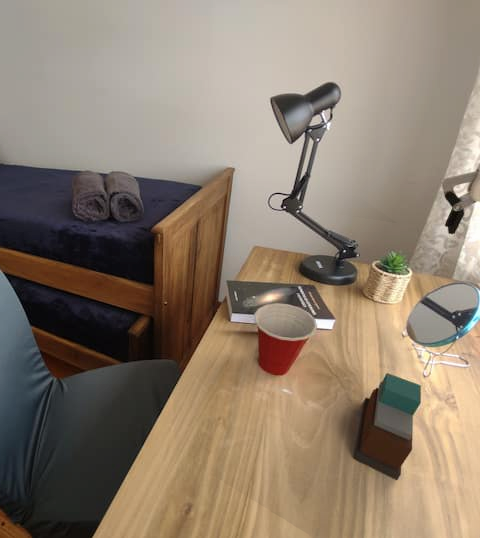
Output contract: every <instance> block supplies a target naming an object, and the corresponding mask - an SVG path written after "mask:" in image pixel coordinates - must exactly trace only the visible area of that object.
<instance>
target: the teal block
mask: <svg viewBox="0 0 480 538" xmlns="http://www.w3.org/2000/svg"><path fill="white" fill-rule="evenodd" d="M377 388H378V395H377V402H376V410H375V417H374V425H375V426H378V427H380V428H382V429H384V430H387V431H389V432H391V433H394V434H396V435H398V436H401V437H403V438H405V439H407V440H410V439H411V437H412V438H413V435H414V434H413V431H414V415H415V413H416V412H417V410H418V409H419V407H420V406H421V404H422V385H421V384H418V383H417V382H413V381H410V380H409V379H405V378H403V377H399V376H396V375H394V374H391V373H389V372H386V374H385V376H384V378H383V379H382V381H380V382H379V385H378V387H377Z"/></svg>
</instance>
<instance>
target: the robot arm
mask: <svg viewBox="0 0 480 538" xmlns="http://www.w3.org/2000/svg"><path fill="white" fill-rule="evenodd" d="M464 184H467V187H466V192H467V193H465V194H463V195H460V196H458V195H457V194H456V193H455V190H454V188H455V187H456V186H460V185H464ZM441 186H442V191H443V195H444V198H445V200H446V201H447V203H448V204H449V205H450V206H451V210H450V212H449V214H448V216H447V218H446V220H445V223H444V227H447V233H448V234H449V235H454V234H456V232H457V230H458V228H459V226H460V224H461V221H462V220H463V218H464V215H465V209H466V208H467V207H470V206H472V205H473V204H476V203H480V163H479V164H478V166H477V167H476V169H475V171H470V172H467V173H463V174H459V175H454V176H450V177H446V178H443V179H442V180H441Z"/></svg>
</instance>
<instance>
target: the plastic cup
mask: <svg viewBox="0 0 480 538" xmlns="http://www.w3.org/2000/svg"><path fill="white" fill-rule="evenodd" d="M253 318H254V323H255V325H256V328H257V347H258V348H257V349H258V365H259V367H260V368H261V369H262V370H263V371H264V372H265V373H267V374H270V375H271V376H272V375H273V376H284V375H286V374H288V372H289V371H290V370H291V368H292V366H293V364H295V363H296V360H297V359H298V357H299V355H300V353H301V352H302V350H303V348H304V346H305V345H306V344H307V342H308V340H309V339H310V338H311V337H312V336H314V334H315V332H316V330H317V329H318V324H317V321H316V319H315V317H314V316H313V315H312V314H311V313H310V312H308V311H306V310H305V309H303V308H301V307H299V306H295V305H293V304H288V303H277V302H276V303H268V304H263V305H262V306H260V307H258V308H257V310H255V312H254V313H253Z"/></svg>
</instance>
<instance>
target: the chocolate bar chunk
mask: <svg viewBox="0 0 480 538" xmlns="http://www.w3.org/2000/svg"><path fill="white" fill-rule="evenodd" d="M377 395H378V387H376V388H374V389H373V390H372V392H371V394H370V396H369V397H365V398H364V400H363V402H362V407H361V414H360V419H359V425H358V430H357V437H356V442H355V449H354V454H353V460H355V461H356V462H359V463H360V464H363V465H365V466H367V467H368V468H371V469H373V470H375V471H376V472H377V471H378V472H379V473H381V474H383V475H385V476H387V477H389V478H392V479H393V480H395V481H398V480H399V478H400V477H401V475H402V466H403V464H404V463H405V461H406V460H407V458H408V457H409V455H410V454H411V452H412V450H413V436H412V437H411V439H410V440H407V439H405V438H403V437H401V436H398V435H396V434H394V433H391V432H389V431H387V430H384V429H382V428H380V427H378V426H375V425H374V417H375V410H376V402H377Z"/></svg>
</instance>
